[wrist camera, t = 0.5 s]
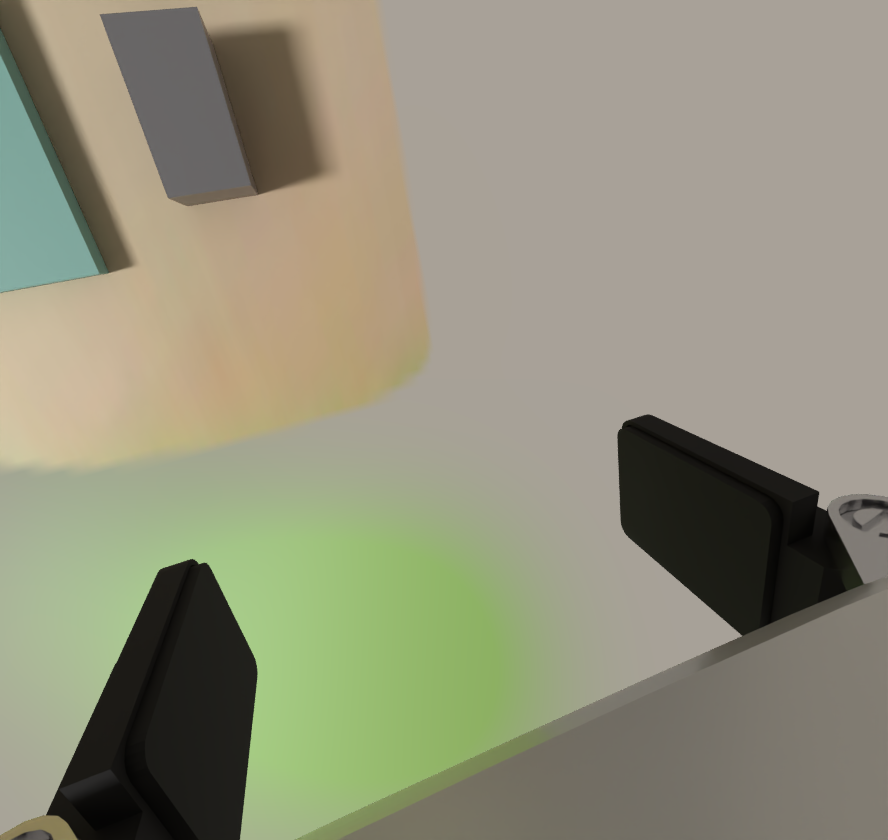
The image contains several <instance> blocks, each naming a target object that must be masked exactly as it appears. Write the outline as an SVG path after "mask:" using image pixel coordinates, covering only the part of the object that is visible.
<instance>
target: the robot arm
mask: <svg viewBox="0 0 888 840" xmlns="http://www.w3.org/2000/svg"><path fill="white" fill-rule="evenodd" d="M618 460H619V461H618V462H619V485H620V486H619V489H620V514H621V525H622V528H623V530H624V532H625V534H626V535H627V536H628V537H629V538H630V539H631V540H632V541H633V542H635V543H636V544H637V545H638V546H639V547H641V548H642V549H643V550H644V551H645V552H646V553H647V554H649V555H650V556H651V557H652V558H653V559H654V560H655V561H657V562H658V563H659V564H660V565H661V566H662V567H664V568H665V569H666V570H667V571H668V572H669V573H671V574H672V575H673V576H674V577H675V578H676V579H678V580H679V581H680V582H681V583H682V584H683V585H684V586H685V587H687V588H688V589H689V590H690V591H691V592H692V593H694V594H695V595H696V596H697V597H698V598H699V599H701V600H702V601H703V602H704V603H705V604H706V605H707V606H709V607H710V608H711V609H712V610H713V611H714V612H716V613H717V614H718V615H719V616H720V617H721V618H723V619H724V620H725V621H726V622H727V623H728V624H730V625H731V626H732V627H733V628H734V629H735V630H737V631H738V632H739V633H740V634H741V635H742V637H740V638H737V639H735V640H733V641H730V642H728V643H726V644H724V645H721V646H719V647H717V648H714V649H712V650H710V651H708V652H705V653H703V654H701V655H699V656H697V657H694V658H692V659H690V660H688V661H685V662H683V663H681V664H678V665H676V666H674V667H672V668H669V669H667V670H665V671H663V672H660V673H658V674H656V675H654V676H652V677H650V678H647V679H645V680H643V681H640V682H638V683H636V684H634V685H632V686H629V687H627V688H625V689H623V690H620V691H618V692H616V693H614V694H612V695H609V696H607V697H605V698H603V699H600V700H598V701H596V702H594V703H592V704H589V705H587V706H585V707H583V708H581V709H578V710H576V711H574V712H572V713H570V714H568V715H565V716H563V717H561V718H559V719H556V720H554V721H552V722H550V723H547V724H545V725H543V726H541V727H539V728H536V729H534V730H532V731H530V732H528V733H525V734H523V735H521V736H519V737H516V738H514V739H512V740H510V741H508V742H505V743H503V744H501V745H499V746H497V747H494V748H493V749H490V750H488V751H486V752H484V753H481V754H479V755H477V756H475V757H473V758H470V759H468V760H466V761H464V762H462V763H459V764H457V765H455V766H453V767H451V768H449V769H447V770H444V771H442V772H440V773H438V774H435V775H433V776H431V777H429V778H427V779H425V780H422V781H420V782H418V783H416V784H414V785H411V786H409V787H408V788H405V789H403V790H401V791H398V792H396V793H394V794H392V795H390V796H387V797H385V798H383V799H381V800H379V801H377V802H374V803H372V804H370V805H368V806H366V807H363V808H361V809H359V810H357V811H355V812H353V813H351V814H348V815H346V816H344V817H342V818H339V819H338V820H335V821H333V822H331V823H329V824H327V825H325V826H323V827H320V828H318V829H316V830H314V831H312V832H310V833H308V834H306V835H304V836H302V837H300V838H298V839H295V840H888V497H884V496H876V495H868V494H859V495H858V494H856V495H848V496H842V497H838V498H837V499H835V500H833V501H831V503H830V504H829V506H828V508H827V511H826V510H824V509H821V508H819V507H817V503H818V497H819V492H818V491H816V490H814V489H812V488H810V487H808V486H805V485H803V484H801V483H799V482H797V481H794V480H792V479H790V478H788V477H786V476H783V475H781V474H779V473H777V472H775V471H773V470H770V469H768V468H766V467H764V466H762V465H759V464H757V463H755V462H753V461H750V460H748V459H746V458H744V457H742V456H740V455H738V454H735V453H733V452H731V451H729V450H727V449H724V448H722V447H720V446H718V445H715V444H713V443H711V442H709V441H707V440H705V439H702V438H700V437H698V436H696V435H694V434H692V433H689V432H687V431H685V430H683V429H681V428H678V427H676V426H674V425H672V424H670V423H667V422H665V421H663V420H661V419H659V418H657V417H654V416H652V415H644V416H641V417H637V418H634V419H631V420H628V421H626V422H624V423H623V426H622V429H620V430H619V432H618ZM256 684H257V665H256V661H255V658H254V655H253V653H252V651H251V649H250V647H249V645H248V643H247V641H246V639H245V637H244V635H243V633H242V631H241V629H240V627H239V625H238V623H237V621H236V619H235V617H234V615H233V613H232V611H231V609H230V607H229V605H228V603H227V601H226V599H225V597H224V595H223V592H222V591H221V589H220V587H219V584H218V582H217V580H216V579H215V576H214V574H213V572H212V570H211V568H210V567H209V565H208V564H207V563H202V564H198V562H197V561H195V560H193V559H190V560H187V561H184V562H181V563H178V564H175V565H172V566H169V567H165V568H163V569H160V570H159V572H158V573H157V576H156V578H155V580H154V582H153V584H152V587H151V589H150V591H149V594H148V595H147V598H146V600H145V602H144V604H143V606H142V608H141V611H140V613H139V615H138V617H137V619H136V622H135V624H134V626H133V628H132V631H131V632H130V635H129V637H128V639H127V641H126V644H125V646H124V648H123V650H122V652H121V654H120V657H119V659H118V661H117V663H116V664H115V666H114V668H113V671H112V672H111V675H110V677H109V679H108V681H107V683H106V686H105V688H104V690H103V692H102V694H101V696H100V699H99V701H98V703H97V705H96V707H95V709H94V712H93V714H92V716H91V718H90V720H89V723H88V725H87V727H86V729H85V731H84V733H83V736H82V738H81V740H80V742H79V744H78V747H77V749H76V751H75V753H74V755H73V758H72V760H71V762H70V764H69V766H68V768H67V770H66V773H65V775H64V777H63V780H62V781H61V784H60V786H59V788H58V790H57V792H56V794H55V797H54V799H53V801H52V803H51V805H50V808H49V810H48V812H47V814H46V816H44V815H43V816H40V817H37V818H34V819H31V820H28V821H25V822H23V823H21V824H19V825H17V826H16V827H14V828H12V829H11V830H9V831H7V832H5V833H3V834H2V835H1V836H0V840H240V833H241V824H242V814H243V805H244V796H245V787H246V777H247V768H248V758H249V748H250V740H251V730H252V721H253V712H254V703H255V693H256Z"/></svg>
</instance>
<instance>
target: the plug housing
mask: <svg viewBox="0 0 888 840" xmlns="http://www.w3.org/2000/svg"><path fill="white" fill-rule="evenodd" d="M100 16H101V19H102V22H103V24H104V27H105V30H106V32H107V35H108V38H109V41H110V43H111V46H112V49H113V51H114V54H115V57H116V59H117V62H118V65H119V67H120V70H121V73H122V76H123V78H124V81H125V84H126V86H127V89H128V92H129V94H130V97H131V100H132V102H133V105H134V108H135V110H136V113H137V116H138V119H139V121H140V124H141V127H142V129H143V132H144V135H145V137H146V140H147V143H148V145H149V148H150V151H151V153H152V156H153V159H154V162H155V164H156V167H157V170H158V172H159V175H160V178H161V180H162V183H163V186H164V188H165V191H166V194H167V196H168V198H169V199H171V200H174V201H176V202H178V203H181V204H183V205H185V206H191V205H198V204H204V203H210V202H216V201H223V200H229V199H235V198H241V197H248V196H254V195H258V193H257V189H256V186H255V183H254V179H253V176H252V173H251V169H250V166H249V163H248V159H247V156H246V153H245V149H244V146H243V143H242V139H241V136H240V133H239V129H238V126H237V123H236V119H235V116H234V113H233V109H232V106H231V103H230V100H229V96H228V93H227V90H226V86H225V83H224V80H223V76H222V73H221V70H220V66H219V63H218V60H217V56H216V53H215V50H214V46H213V44H212V41H211V39H210V37H209V34H208V32H207V29H206V27H205V25H204V22H203V20H202V18H201V15H200V13H199V11H198V8H197V7H189V8H176V9H163V10H150V11H138V12H125V13H112V14H100Z"/></svg>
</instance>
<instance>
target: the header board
mask: <svg viewBox="0 0 888 840" xmlns="http://www.w3.org/2000/svg"><path fill="white" fill-rule="evenodd" d="M107 273H109V272H108V270H107V267H106V265H105V263H104V261H103V258H102V256H101V254H100V252H99V249H98V247H97V245H96V243H95V240H94V238H93V236H92V234H91V231H90V229H89V227H88V225H87V222H86V220H85V218H84V216H83V213H82V211H81V209H80V207H79V204H78V202H77V200H76V197H75V195H74V193H73V191H72V188H71V186H70V184H69V182H68V179H67V177H66V175H65V173H64V170H63V168H62V166H61V164H60V161H59V159H58V157H57V155H56V152H55V150H54V148H53V146H52V143H51V141H50V139H49V137H48V134H47V132H46V130H45V128H44V125H43V123H42V121H41V119H40V116H39V114H38V112H37V110H36V107H35V105H34V103H33V101H32V98H31V96H30V94H29V92H28V89H27V87H26V85H25V83H24V80H23V78H22V76H21V74H20V71H19V69H18V67H17V65H16V62H15V60H14V58H13V56H12V53H11V51H10V49H9V47H8V44H7V42H6V40H5V38H4V35H3V33H2V31H1V29H0V293H3V292H8V291H14V290H19V289H25V288H30V287H36V286H41V285H47V284H52V283H58V282H63V281H69V280H74V279H80V278H85V277H90V276H96V275H101V274H107Z"/></svg>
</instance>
